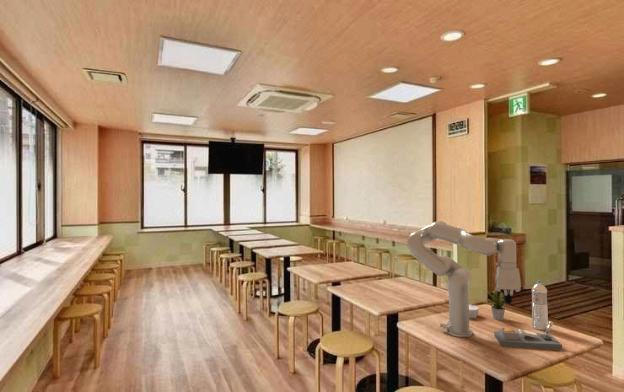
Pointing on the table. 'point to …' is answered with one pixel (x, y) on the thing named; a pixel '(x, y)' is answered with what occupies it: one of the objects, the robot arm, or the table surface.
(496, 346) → the table surface
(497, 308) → the house plant
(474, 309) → the ramekin
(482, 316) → the table surface
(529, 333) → the rocker switch
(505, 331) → the push button
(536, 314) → the water bottle
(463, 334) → the robot arm
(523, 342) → the control panel
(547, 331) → the toggle lever
